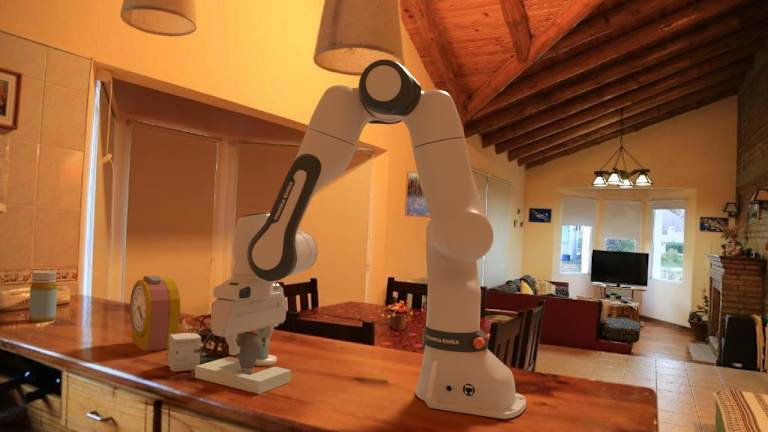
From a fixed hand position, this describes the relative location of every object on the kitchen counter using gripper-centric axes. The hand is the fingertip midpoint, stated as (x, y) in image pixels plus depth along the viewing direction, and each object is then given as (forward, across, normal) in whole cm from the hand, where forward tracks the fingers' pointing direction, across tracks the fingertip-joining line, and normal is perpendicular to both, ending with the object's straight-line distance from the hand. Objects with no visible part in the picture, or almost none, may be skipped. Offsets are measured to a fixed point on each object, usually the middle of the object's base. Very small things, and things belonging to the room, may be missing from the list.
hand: (249, 349), depth 117 cm
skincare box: (+6, +3, -17) cm, 19 cm away
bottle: (+6, -6, -89) cm, 90 cm away
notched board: (+6, +2, 0) cm, 6 cm away
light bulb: (+6, 0, 0) cm, 6 cm away
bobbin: (+6, -11, -6) cm, 14 cm away
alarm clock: (+6, -6, -39) cm, 40 cm away
